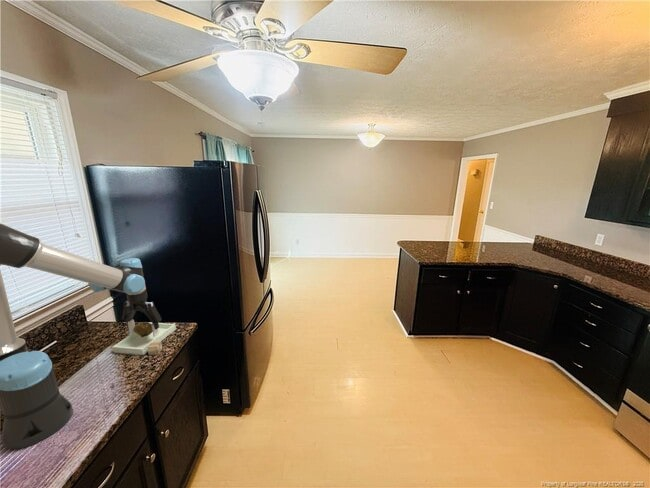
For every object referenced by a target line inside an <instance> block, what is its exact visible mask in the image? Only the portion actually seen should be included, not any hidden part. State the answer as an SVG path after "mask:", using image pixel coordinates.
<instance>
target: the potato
mask: <svg viewBox="0 0 650 488" xmlns="http://www.w3.org/2000/svg"><path fill="white" fill-rule="evenodd" d="M150 323H151V322H150ZM150 323H149V322H148V321H142V322H138V324H135V327H134V331H135V333H136V334H138V335H140V336H141V337H144V336H148V335H150V334H151V333H152V326H151V324H150Z"/></svg>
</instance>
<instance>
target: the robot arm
mask: <svg viewBox="0 0 650 488" xmlns="http://www.w3.org/2000/svg"><path fill="white" fill-rule="evenodd" d="M1 266H7V267H12V268H15V269H21V268H25V267H26V268H29V269H35V270H37V271H41V272H46V273H49V274H52V275H53V274H54V275H57V276H59V277H63V278H68V279H72V280H76V281H80V282H84V283H87V284H88V286H89V288H90V290H91V291H93V292H95V293H99V292H103V291H106V290H110V291H111V290H112V291H115V292H119V293H120V292H121V293H124V294H126V299H127V300H125V301H124V302H123V303H122V304H123V308H122V309H123V310H122V316H121V320H122V321H125V323H126V326H127V328H128V331H129V335H132V334H134V333H135V331H134V327H135V326H136V323H135V320H134V319H133V318H134V316H135V314H136V312H141V313H142V314H144V315H145V316H146V317H147V318H148V319H149V321H150V323H152V324H151V326H152V332H153V337H155V336H156V335H158V334H159V330H158V328H159V324H158V323H160V322H161V321H162V316H161V314H160V313H159V312H158V311H159V310H157V308H156V306H155V303H154V301H153V300H152V301H151V302H148V301H147V299H148V292H147V287H146V280H145V277H144V276H145V275H144V272H143V271H144V270H143V265H142V262H141V259H140V258H137V257H129V258H125V259H123V260H121V261H120V262H119V266H116V267H112V266H110V265H107V264H104V263H101V262H99V261H96V260H95V261H94V260H93V259H90V258H86V257H83V256H81V255H79V254H78V255H77V254H74V253H71V252H68V251H66V250H62V249H59V248H56V247H54V246H51V245H49V244H45V243H43V242H41V239H40V238H38V237H35V236H32V235H30V234H28V233H25V232H22V231H19V230H18V229H15V228H13V227H11V226H9V225H6V224H3V223H0V267H1ZM3 279H4V278H3V274H2V271H1V269H0V410H1V413H2V416H3V424H2V431H1V437H0V440H1V442H2V445H3V447H4V448H5V449H7V450H19V449H23V448H26V447H30V446H33V445H35V444H37V443H39V442H42V441H44V440H46V439H47V438H49V437H51V436H52V435H53V434H56V432H58V431H59V430H61V429H62V428H63V427H64V426H66V424H67V423H68V422H69V421H70V419H71V418H72V416H73V415H74V407H73V405H72V403H71V402H70V401H69V399H67V398H66V397H65V396H64V395H62V393H61V392H60V389H59V386H58V382H57V378H56V376H55V371H54V368H53V362H52V360H51V359H50V357H49V355H48V354H47V353H46V352H43V351H40V350H31V351H28V347H27V342H26V340H25V339H24V338H20V337H18V335H17V331H16V328H15V323H14V320H13V316H12V312H11V307H10V303H9V299H8V295H7V291H6V288H5V287H6V286H5V283H4V280H3Z"/></svg>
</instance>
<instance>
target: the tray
mask: <svg viewBox="0 0 650 488" xmlns="http://www.w3.org/2000/svg"><path fill="white" fill-rule="evenodd" d="M148 323H150V324H152V322H151V321H150V322H148ZM158 324H159V328H158V330H159V334H158V335H156V336H155V337H153V332H152V333H151V334H150V335H148V336H144V337H141V336H140V335H138V334H136V333H134V334H132V335H130V334H129V335H128V336H126V337H125V338H123V339H122V340H121V341H119V342H117V343H116V344H114V345H112V347H111V348H112V352H113V354H122V355H123V354H125V355H132V356H135V355H136V356H145V355H146V354H147V353H148V349H147V347H148V346H149V344H150V343H151V342H156V341H161V342H162V341H163V340H165V339H166V338H167V337H169V336H170V335H171V334H172V333H173V332H175V331H176V330H177V327H176V324H175V323H164V322H163V323H162V322H161V323H160V322H158Z"/></svg>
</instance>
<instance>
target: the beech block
mask: <svg viewBox="0 0 650 488" xmlns="http://www.w3.org/2000/svg"><path fill="white" fill-rule="evenodd" d="M147 349H148V352H147V353H148V356H152V355H159V354H160V353H161V351H162V350H163V345H162V341H156V342H151V343H150V344H149V346H148V347H147Z"/></svg>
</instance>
